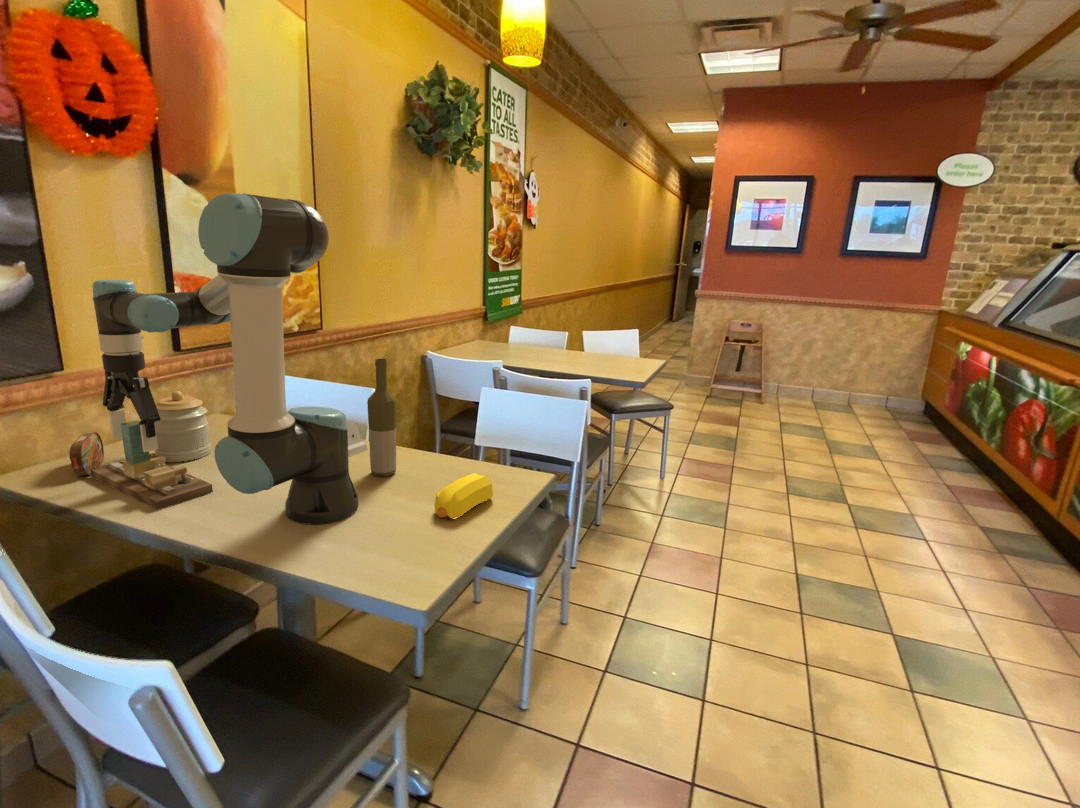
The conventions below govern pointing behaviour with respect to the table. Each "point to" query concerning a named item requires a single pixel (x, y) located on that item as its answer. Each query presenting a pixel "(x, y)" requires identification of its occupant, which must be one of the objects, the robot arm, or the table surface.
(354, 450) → the hinge
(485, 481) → the yellow rounded bar
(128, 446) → the slider
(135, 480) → the gauge board
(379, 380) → the bottle
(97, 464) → the tin
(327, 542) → the table surface
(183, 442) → the jar
